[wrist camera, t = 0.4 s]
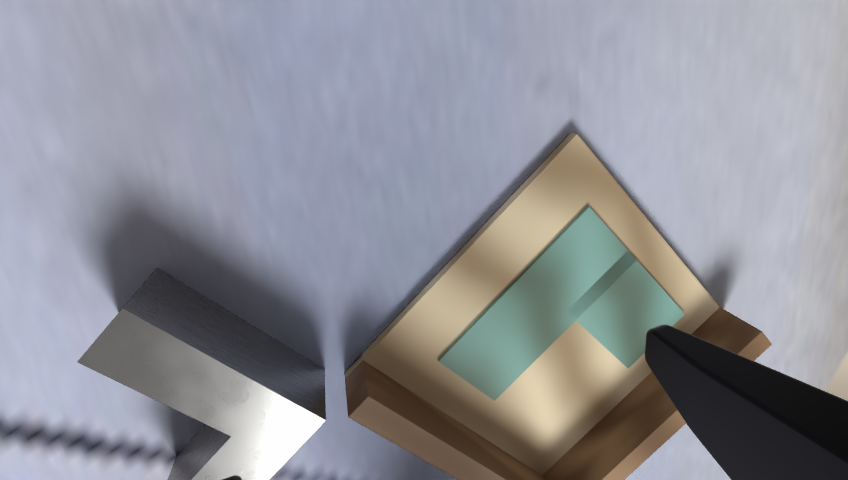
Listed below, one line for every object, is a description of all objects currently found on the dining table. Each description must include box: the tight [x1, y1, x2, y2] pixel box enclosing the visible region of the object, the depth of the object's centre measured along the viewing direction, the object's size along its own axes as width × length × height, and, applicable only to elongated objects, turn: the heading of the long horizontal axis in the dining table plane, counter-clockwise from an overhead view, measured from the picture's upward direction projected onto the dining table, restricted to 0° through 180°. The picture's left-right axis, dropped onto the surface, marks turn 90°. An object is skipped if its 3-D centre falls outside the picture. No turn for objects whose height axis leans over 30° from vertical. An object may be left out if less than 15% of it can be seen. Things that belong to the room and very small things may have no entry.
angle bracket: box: [78, 268, 326, 480], centre depth 21 cm, size 10×9×4 cm
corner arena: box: [344, 133, 772, 480], centre depth 26 cm, size 18×18×4 cm
